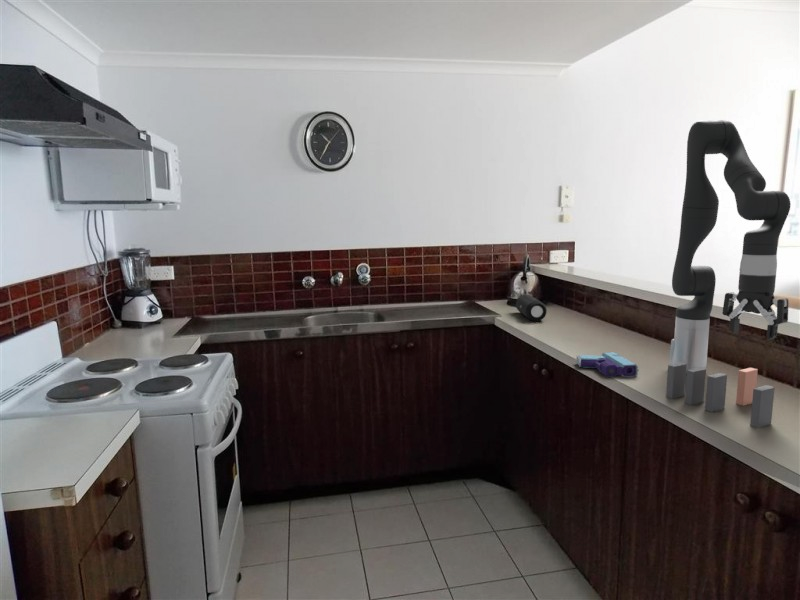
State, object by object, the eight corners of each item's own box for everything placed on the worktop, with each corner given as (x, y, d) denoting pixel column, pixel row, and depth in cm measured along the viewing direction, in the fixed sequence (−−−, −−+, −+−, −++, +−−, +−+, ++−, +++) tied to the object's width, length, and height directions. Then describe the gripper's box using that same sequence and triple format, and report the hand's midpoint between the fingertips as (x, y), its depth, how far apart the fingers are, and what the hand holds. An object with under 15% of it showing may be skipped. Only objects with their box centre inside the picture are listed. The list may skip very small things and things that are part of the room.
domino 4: (735, 403, 133) (738, 370, 132) (747, 400, 135) (750, 367, 134) (742, 405, 131) (745, 372, 130) (754, 402, 133) (757, 369, 132)
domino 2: (684, 403, 134) (687, 370, 133) (697, 399, 136) (699, 367, 135) (691, 405, 133) (693, 372, 131) (703, 401, 135) (706, 369, 133)
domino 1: (666, 396, 139) (668, 364, 138) (678, 393, 141) (680, 362, 140) (671, 398, 137) (674, 366, 136) (684, 395, 140) (686, 363, 138)
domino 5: (750, 425, 119) (753, 388, 118) (762, 421, 122) (766, 385, 120) (758, 428, 118) (761, 390, 116) (771, 423, 120) (774, 387, 118)
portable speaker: (514, 312, 264) (514, 293, 262) (533, 312, 264) (534, 293, 262) (526, 322, 239) (527, 301, 237) (548, 322, 239) (548, 301, 237)
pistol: (571, 365, 172) (615, 363, 172) (591, 379, 156) (638, 377, 157) (572, 353, 171) (615, 351, 172) (591, 366, 156) (639, 364, 156)
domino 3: (704, 409, 129) (707, 375, 128) (717, 406, 131) (720, 372, 130) (711, 412, 128) (714, 377, 126) (724, 408, 130) (727, 374, 128)
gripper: (798, 274, 122) (791, 339, 125) (737, 269, 135) (732, 329, 138) (780, 276, 119) (774, 343, 122) (719, 271, 132) (715, 332, 134)
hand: (751, 335), depth 130 cm, fingers open, 8 cm apart
